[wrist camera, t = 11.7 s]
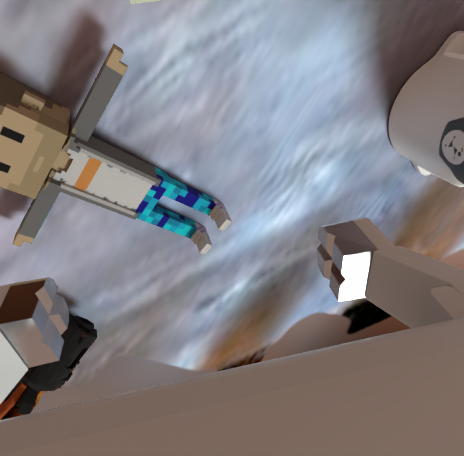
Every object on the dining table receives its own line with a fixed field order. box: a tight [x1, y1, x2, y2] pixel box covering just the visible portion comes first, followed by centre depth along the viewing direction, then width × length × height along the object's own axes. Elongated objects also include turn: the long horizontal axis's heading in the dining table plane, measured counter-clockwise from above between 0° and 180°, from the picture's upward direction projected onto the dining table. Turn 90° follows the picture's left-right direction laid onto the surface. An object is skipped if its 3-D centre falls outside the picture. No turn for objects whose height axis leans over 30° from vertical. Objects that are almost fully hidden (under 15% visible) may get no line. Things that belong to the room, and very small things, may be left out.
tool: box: [0, 315, 97, 420], centre depth 55 cm, size 8×23×15 cm, turn 131°
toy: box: [0, 44, 232, 255], centre depth 42 cm, size 26×8×30 cm
